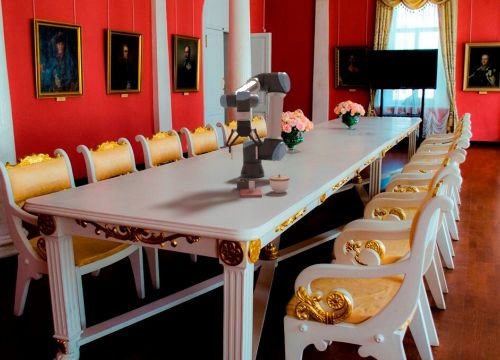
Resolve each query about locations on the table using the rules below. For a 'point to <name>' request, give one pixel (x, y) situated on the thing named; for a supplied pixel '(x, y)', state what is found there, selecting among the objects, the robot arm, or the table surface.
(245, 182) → the hollow frame block
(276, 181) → the lidded jar
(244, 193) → the plate
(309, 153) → the table surface
